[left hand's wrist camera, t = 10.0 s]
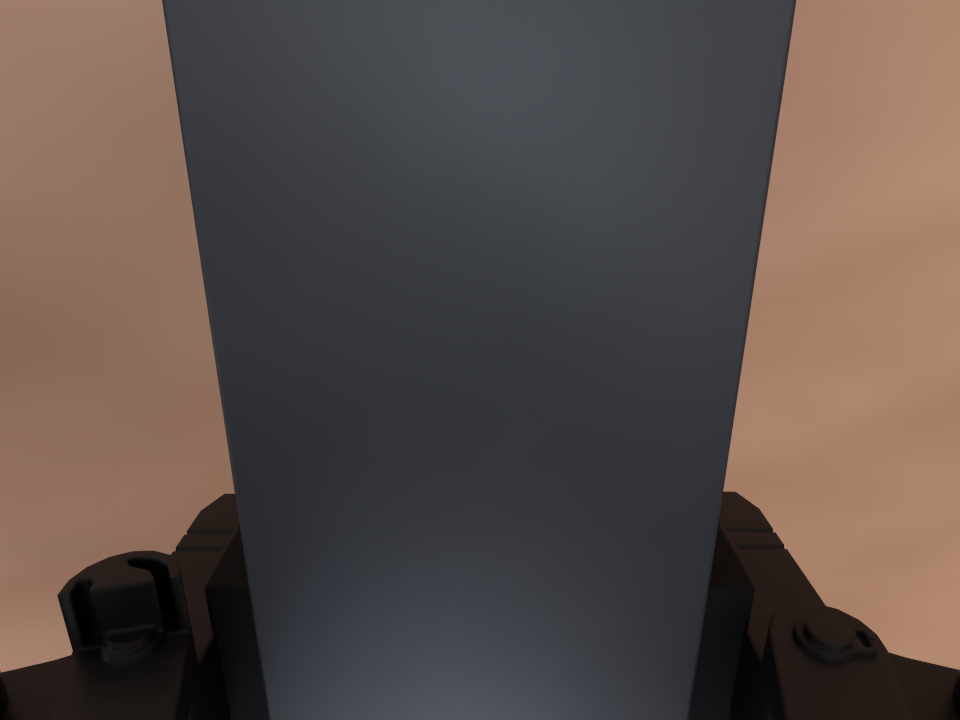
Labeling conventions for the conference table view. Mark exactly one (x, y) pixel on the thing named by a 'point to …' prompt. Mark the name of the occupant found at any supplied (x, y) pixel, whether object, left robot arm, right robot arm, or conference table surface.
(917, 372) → the conference table surface
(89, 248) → the conference table surface
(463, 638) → the bar
